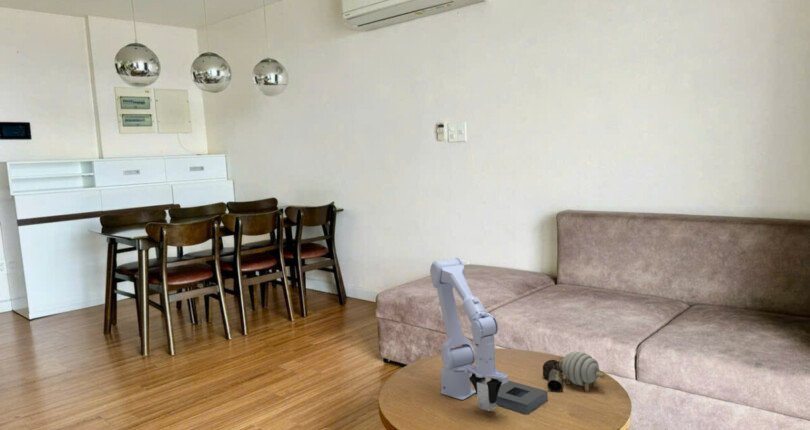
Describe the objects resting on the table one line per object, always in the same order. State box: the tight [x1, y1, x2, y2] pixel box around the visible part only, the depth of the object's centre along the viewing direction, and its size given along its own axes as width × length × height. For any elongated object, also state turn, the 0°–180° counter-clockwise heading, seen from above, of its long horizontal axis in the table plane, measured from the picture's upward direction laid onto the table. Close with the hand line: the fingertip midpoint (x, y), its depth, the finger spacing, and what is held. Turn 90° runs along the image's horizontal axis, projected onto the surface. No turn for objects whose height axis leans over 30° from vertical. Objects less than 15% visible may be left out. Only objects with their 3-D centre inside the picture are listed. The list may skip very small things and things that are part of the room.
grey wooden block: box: [476, 377, 498, 412], centre depth 168 cm, size 4×4×8 cm
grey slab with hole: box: [496, 380, 549, 415], centre depth 175 cm, size 14×12×3 cm
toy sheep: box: [559, 351, 606, 392], centre depth 183 cm, size 11×17×11 cm, turn 41°
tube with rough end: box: [542, 359, 564, 393], centre depth 189 cm, size 18×7×6 cm, turn 163°
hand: (487, 400), depth 168 cm, fingers closed on grey wooden block, 4 cm apart
